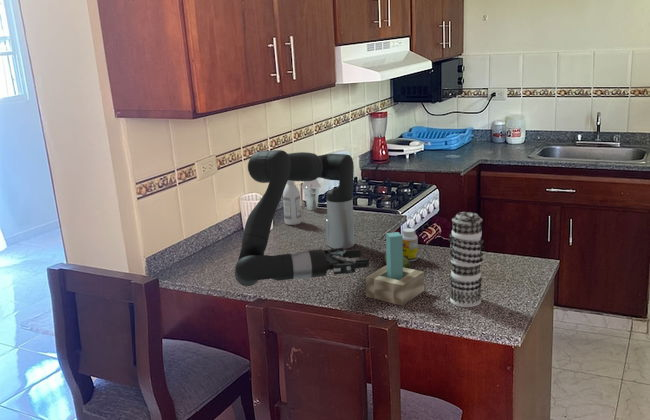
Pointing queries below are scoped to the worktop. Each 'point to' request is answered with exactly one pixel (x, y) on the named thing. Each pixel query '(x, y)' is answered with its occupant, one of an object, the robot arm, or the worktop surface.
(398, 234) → the peg
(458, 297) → the decorative candle
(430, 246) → the worktop surface
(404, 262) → the pear
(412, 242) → the supplement bottle
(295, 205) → the bath foam
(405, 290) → the socket block
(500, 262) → the worktop surface
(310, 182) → the cup with straw
